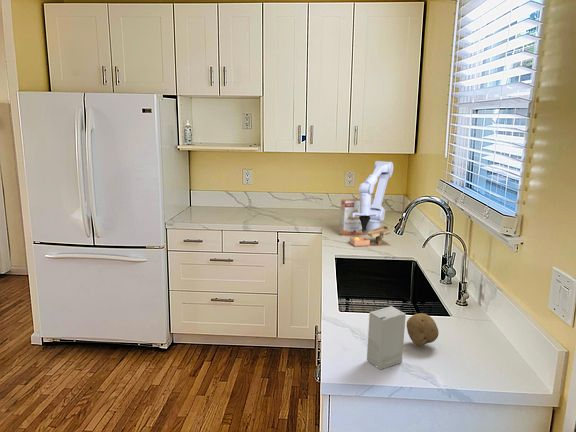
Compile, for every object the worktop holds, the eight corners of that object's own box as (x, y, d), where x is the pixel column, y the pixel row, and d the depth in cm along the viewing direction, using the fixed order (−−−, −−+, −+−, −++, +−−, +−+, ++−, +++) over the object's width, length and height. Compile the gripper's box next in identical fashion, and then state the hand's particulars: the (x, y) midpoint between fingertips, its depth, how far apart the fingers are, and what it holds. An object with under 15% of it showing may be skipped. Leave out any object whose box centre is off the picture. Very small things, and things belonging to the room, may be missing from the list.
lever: (361, 234, 258) (360, 228, 257) (380, 228, 260) (378, 221, 259) (371, 240, 246) (369, 233, 245) (390, 233, 247) (389, 227, 246)
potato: (431, 339, 143) (434, 308, 141) (441, 353, 134) (444, 320, 132) (401, 338, 143) (404, 308, 141) (410, 353, 134) (413, 320, 132)
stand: (347, 244, 251) (348, 229, 249) (384, 242, 256) (385, 228, 254) (353, 248, 243) (354, 233, 241) (391, 247, 247) (392, 232, 246)
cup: (349, 242, 250) (349, 237, 249) (364, 242, 252) (364, 237, 251) (354, 246, 243) (354, 240, 243) (369, 245, 245) (369, 240, 245)
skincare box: (388, 354, 133) (391, 305, 130) (403, 363, 128) (407, 312, 125) (365, 361, 129) (368, 310, 126) (379, 371, 124) (383, 318, 121)
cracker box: (343, 236, 267) (345, 200, 263) (338, 234, 273) (340, 199, 268) (365, 235, 272) (367, 200, 267) (360, 233, 277) (362, 198, 273)
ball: (361, 241, 248) (355, 245, 248) (357, 236, 249) (352, 239, 249) (360, 240, 245) (355, 244, 245) (356, 235, 246) (351, 239, 246)
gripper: (355, 206, 248) (354, 231, 251) (380, 206, 252) (379, 230, 254) (350, 204, 255) (349, 228, 258) (375, 203, 258) (373, 227, 261)
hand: (363, 229), depth 256 cm, fingers closed
